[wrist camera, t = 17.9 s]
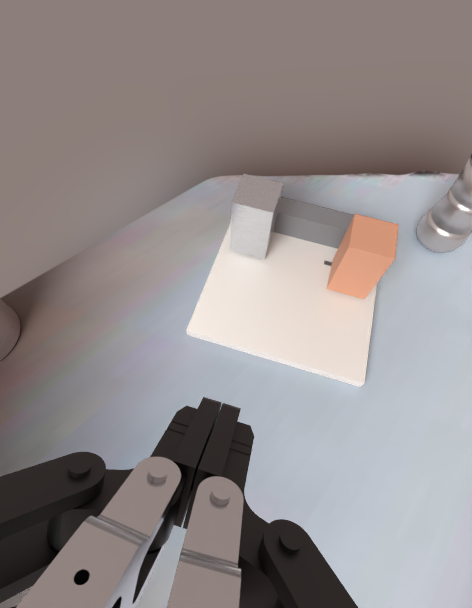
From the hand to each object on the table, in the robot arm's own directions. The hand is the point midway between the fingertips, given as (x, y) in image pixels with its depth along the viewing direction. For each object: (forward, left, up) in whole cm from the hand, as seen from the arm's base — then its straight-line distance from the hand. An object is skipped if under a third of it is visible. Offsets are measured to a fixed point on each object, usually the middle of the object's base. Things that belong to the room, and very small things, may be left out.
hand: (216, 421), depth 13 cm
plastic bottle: (+21, +39, -27) cm, 52 cm away
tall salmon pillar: (+9, +26, -25) cm, 37 cm away
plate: (+2, +24, -27) cm, 36 cm away
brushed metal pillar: (-5, +29, -25) cm, 38 cm away
